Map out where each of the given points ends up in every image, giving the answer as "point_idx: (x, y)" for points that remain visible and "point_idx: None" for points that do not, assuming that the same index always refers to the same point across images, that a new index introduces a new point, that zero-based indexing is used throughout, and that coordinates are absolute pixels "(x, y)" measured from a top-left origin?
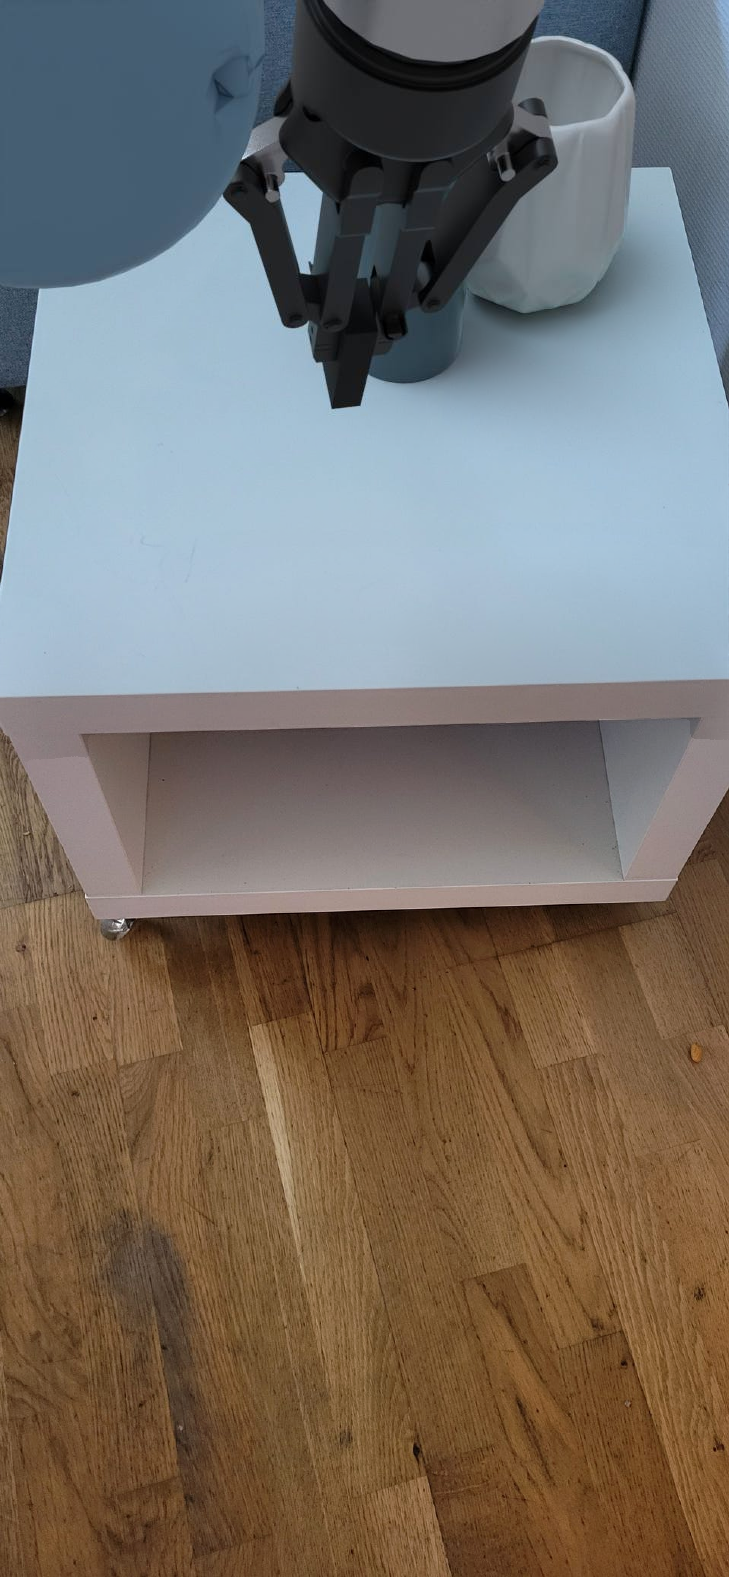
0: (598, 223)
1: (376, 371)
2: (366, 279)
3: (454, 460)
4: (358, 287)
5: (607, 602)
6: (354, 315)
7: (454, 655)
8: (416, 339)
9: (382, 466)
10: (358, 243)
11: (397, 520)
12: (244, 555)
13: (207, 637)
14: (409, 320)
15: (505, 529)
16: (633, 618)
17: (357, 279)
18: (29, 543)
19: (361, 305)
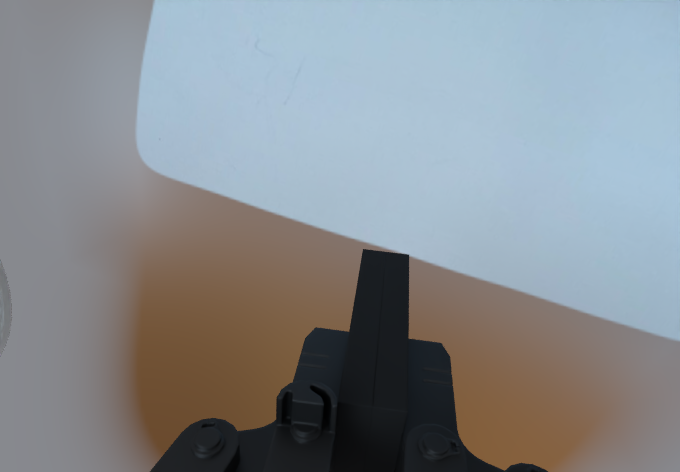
0: None
1: None
2: (406, 413)
3: (592, 34)
4: (383, 421)
5: (655, 253)
6: (357, 460)
7: (488, 256)
8: None
9: (512, 19)
10: None
11: (499, 95)
12: (342, 90)
13: (289, 168)
14: None
15: (601, 140)
16: (669, 277)
17: (386, 411)
18: (159, 15)
19: (376, 451)
